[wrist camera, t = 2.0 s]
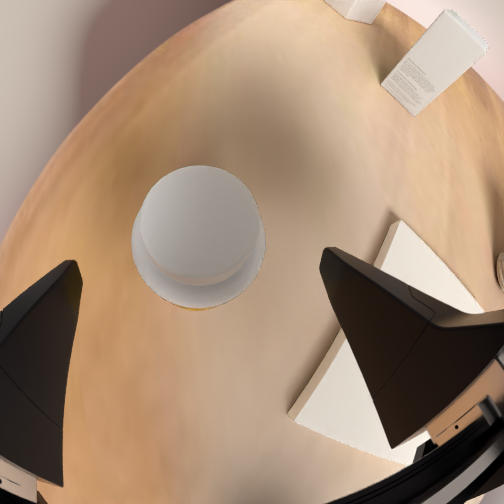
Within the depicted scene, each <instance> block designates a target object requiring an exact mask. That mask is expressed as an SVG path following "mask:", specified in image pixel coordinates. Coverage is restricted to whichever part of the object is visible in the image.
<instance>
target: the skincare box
mask: <svg viewBox="0 0 504 504" xmlns="http://www.w3.org/2000/svg"><path fill="white" fill-rule="evenodd" d="M487 48H488V46H487V42H486V41H485V40H484V39H483V38H482V37H481V36H480V35H479V34H478V33H477V32H476V31H475V30H474V29H473V28H472V27H471V26H470V25H469V24H468V23H467V22H466V21H465V20H463V19H462V18H461V17H460V16H459V15H458V14H457V13H456V12H454V11H453V10H444V11H443V12H442V13H441V14H440V15H439V17H438V18H437V19H436V20H435V21H434V22H433V23H432V25H431V26H430V27H429V28H428V29H427V30H426V31H425V33H424V34H423V35H422V36H421V37H420V38H419V39H418V41H417V42H416V43H415V44H414V45H413V46H412V48H411V49H410V50H409V51H408V52H407V53H406V55H405V56H404V57H403V58H402V59H401V61H400V62H399V63H398V64H397V65H396V66H395V68H394V69H393V70H392V71H391V72H390V73H389V75H388V76H387V77H386V78H385V79H384V81H383V82H382V83H381V86H382V87H383V88H384V89H385V90H386V91H387V92H388V93H389V94H391V95H392V96H393V97H394V98H395V99H396V100H397V101H398V102H399V103H400V104H401V105H402V106H403V107H404V108H405V109H406V110H407V111H408V112H409V113H410V114H411V115H412V116H413V117H415V116H416V115H417V114H418V113H419V112H421V111H422V110H423V109H424V108H425V107H426V106H427V105H428V104H429V103H431V102H432V101H433V100H434V99H435V98H436V97H437V96H439V95H440V94H441V93H442V92H443V91H444V90H445V89H447V88H448V87H449V86H450V85H451V84H452V83H453V82H454V81H455V80H457V79H458V78H459V77H460V76H461V75H462V74H463V73H464V72H465V71H467V70H468V69H469V68H470V67H471V66H472V65H473V64H474V63H476V62H477V61H478V60H479V59H480V58H481V57H482V56H483V55H484V54H485V53H486V52H487Z"/></svg>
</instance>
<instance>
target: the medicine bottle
mask: <svg viewBox="0 0 504 504" xmlns="http://www.w3.org/2000/svg"><path fill="white" fill-rule="evenodd" d="M324 2H325V3H326V4H328V5H329V6H330V7H331V8H333V9H334V10H335V11H336V12H338V13H339V14H340V15H341V16H342V17H343V18H345V19H347V20H352V21H357V22H362V23H366V24H372V22H373V21H374V19H375V18H376V16H377V15H378V13H379V12H380V10H381V9H382V7H383V6H384V4H385V3H386V0H325V1H324Z"/></svg>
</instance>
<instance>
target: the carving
mask: <svg viewBox="0 0 504 504" xmlns="http://www.w3.org/2000/svg"><path fill="white" fill-rule="evenodd" d="M497 276H498V281H499V284H500V287H501V289H502V291H503V292H504V251H503V252H501V253H500V255H499V256H498V258H497Z"/></svg>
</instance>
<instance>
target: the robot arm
mask: <svg viewBox="0 0 504 504" xmlns="http://www.w3.org/2000/svg"><path fill="white" fill-rule="evenodd" d="M319 270H320V274H321V277H322V279H323V282H324V285H325V288H326V291H327V294H328V297H329V300H330V303H331V305H332V308H333V310H334V312H335V314H336V316H337V319H338V321H339V323H340V325H341V327H342V330H343V332H344V334H345V336H346V339H347V341H348V343H349V345H350V348H351V350H352V352H353V355H354V357H355V359H356V362H357V364H358V366H359V369H360V371H361V373H362V376H363V378H364V381H365V383H366V386H367V388H368V390H369V393H370V395H371V398H372V399H373V400H372V401H373V403H374V406H375V408H376V411H377V413H378V416H379V419H380V421H381V424H382V427H383V429H384V432H385V434H386V437H387V440H388V443H389V445H390V447H391V449H394V448H396V447H398V446H400V445H402V444H404V443H406V442H407V441H409V440H411V439H413V438H415V437H417V436H418V435H420V434H422V433H423V432H425V431H427V432H428V434H429V436H430V439H429V440H427V441H425V442H424V443H423V444H421V445H420V446H418V447H417V450H416V453H415V456H414V459H413V462H412V464H410V465H409V466H407V467H405V468H403V469H402V470H400V471H398V472H396V473H394V474H392V475H390V476H388V477H386V478H384V479H382V480H380V481H378V482H376V483H374V484H372V485H370V486H368V487H365V488H363V489H361V490H358V491H356V492H354V493H351V494H349V495H346V496H344V497H341V498H338V499H335V500H333V501H330V502H327V503H324V504H464V503H465V502H466V501H468V500H470V499H473V498H475V497H477V496H480V495H482V494H484V493H486V492H488V491H491V490H493V489H495V488H497V487H499V486H501V485H503V484H504V309H502V310H497V311H491V312H485V313H479V314H470V313H466V312H463V311H460V310H458V309H456V308H454V307H452V306H450V305H448V304H446V303H444V302H442V301H440V300H438V299H436V298H434V297H432V296H430V295H427V294H426V293H424V292H422V291H420V290H418V289H416V288H414V287H412V286H410V285H408V284H407V283H405V282H403V281H401V280H399V279H397V278H395V277H393V276H391V275H390V274H388V273H386V272H384V271H382V270H380V269H378V268H376V267H374V266H372V265H370V264H368V263H366V262H364V261H362V260H360V259H358V258H356V257H354V256H352V255H350V254H348V253H346V252H344V251H342V250H340V249H338V248H336V247H326V248H325V249H324V250H323V254H322V258H321V262H320V266H319ZM82 286H83V281H82V277H81V273H80V270H79V267H78V264H77V262H76V261H75V260H65V261H64V262H62V263H61V264H60V265H58V266H57V267H55V268H54V269H53V270H51V271H50V272H49V273H47V274H46V275H45V276H43V277H42V278H41V279H39V280H38V281H37V282H36V283H34V284H33V285H32V286H30V287H29V288H28V289H27V290H25V291H24V292H23V293H22V294H20V295H19V296H18V297H17V298H16V299H14V300H13V301H12V302H11V303H10V304H8V305H7V306H6V307H5V308H4V309H3V311H0V504H48V503H47V502H46V501H45V499H44V498H43V497H42V495H41V494H40V493H39V491H37V480H38V481H41V482H45V483H48V484H51V485H55V486H59V487H63V418H64V405H65V394H66V385H67V378H68V370H69V364H70V358H71V352H72V346H73V341H74V336H75V331H76V326H77V321H78V314H79V306H80V299H81V292H82Z"/></svg>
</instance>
